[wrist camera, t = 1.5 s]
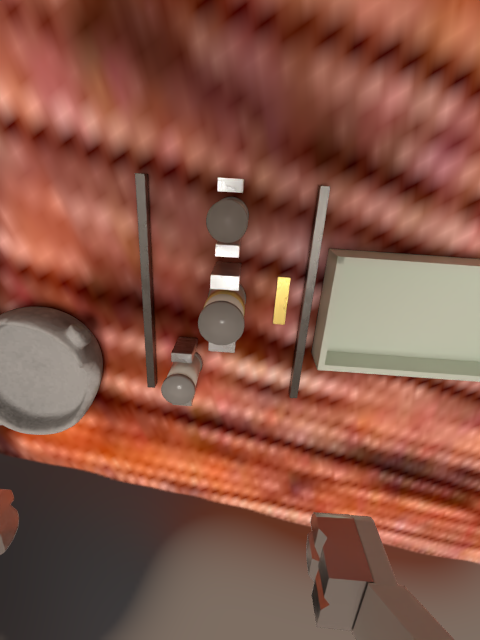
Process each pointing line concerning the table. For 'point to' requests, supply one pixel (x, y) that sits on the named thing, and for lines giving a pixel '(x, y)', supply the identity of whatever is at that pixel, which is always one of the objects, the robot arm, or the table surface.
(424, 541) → the table surface
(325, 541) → the robot arm
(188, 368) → the fuse cartridge near camera
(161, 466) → the table surface
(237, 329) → the cylinder
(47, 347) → the dish
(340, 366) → the tray
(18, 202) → the table surface
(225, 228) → the fuse cartridge near arm
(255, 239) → the table surface
